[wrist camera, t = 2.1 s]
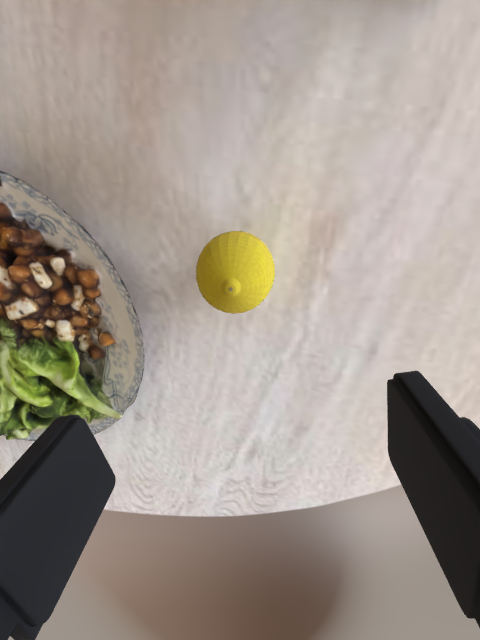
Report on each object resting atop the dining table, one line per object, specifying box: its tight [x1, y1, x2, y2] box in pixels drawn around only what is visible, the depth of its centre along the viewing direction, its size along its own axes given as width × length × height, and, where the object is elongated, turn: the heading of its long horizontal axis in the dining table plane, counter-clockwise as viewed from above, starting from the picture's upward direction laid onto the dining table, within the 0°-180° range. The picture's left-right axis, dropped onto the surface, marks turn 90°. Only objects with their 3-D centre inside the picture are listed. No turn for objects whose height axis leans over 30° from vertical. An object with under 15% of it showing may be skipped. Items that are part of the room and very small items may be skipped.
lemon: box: [196, 231, 275, 313], centre depth 21 cm, size 6×6×8 cm
